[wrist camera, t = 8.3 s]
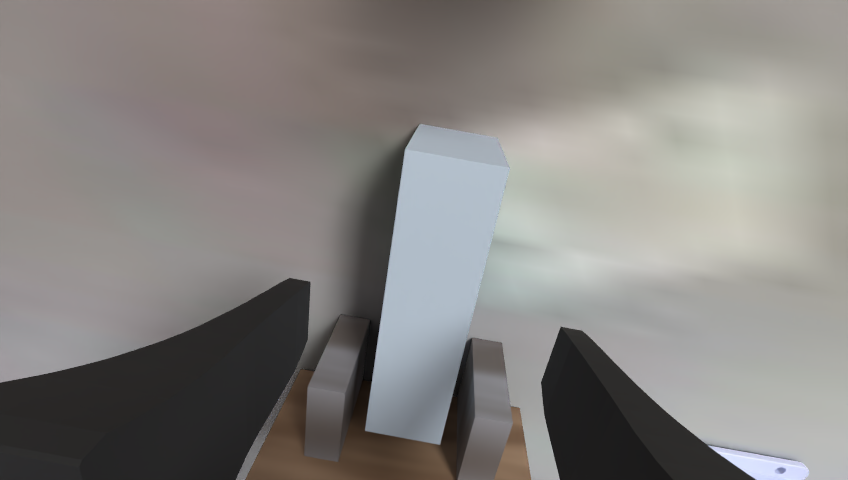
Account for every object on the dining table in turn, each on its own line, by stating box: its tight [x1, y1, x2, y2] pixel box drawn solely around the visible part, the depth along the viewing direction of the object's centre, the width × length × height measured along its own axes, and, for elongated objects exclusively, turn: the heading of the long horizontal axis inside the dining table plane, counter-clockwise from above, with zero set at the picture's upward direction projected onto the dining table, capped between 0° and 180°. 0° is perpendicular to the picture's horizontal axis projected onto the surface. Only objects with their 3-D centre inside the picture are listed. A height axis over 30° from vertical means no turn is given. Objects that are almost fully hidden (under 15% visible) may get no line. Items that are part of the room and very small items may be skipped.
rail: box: [365, 124, 510, 445], centre depth 17 cm, size 3×12×5 cm, turn 171°
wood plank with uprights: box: [245, 315, 531, 480], centre depth 19 cm, size 6×12×6 cm, turn 81°
